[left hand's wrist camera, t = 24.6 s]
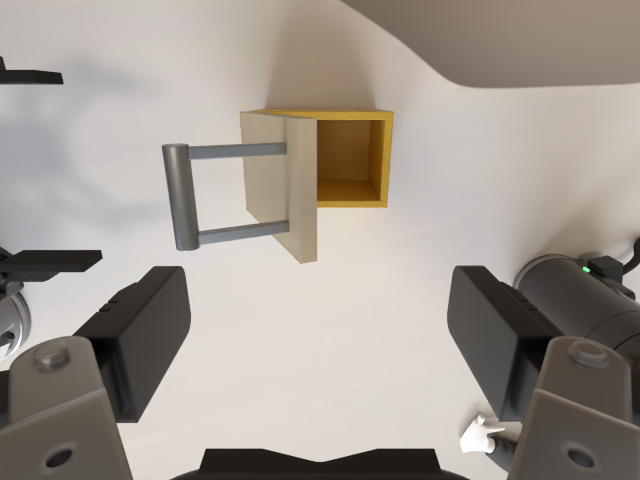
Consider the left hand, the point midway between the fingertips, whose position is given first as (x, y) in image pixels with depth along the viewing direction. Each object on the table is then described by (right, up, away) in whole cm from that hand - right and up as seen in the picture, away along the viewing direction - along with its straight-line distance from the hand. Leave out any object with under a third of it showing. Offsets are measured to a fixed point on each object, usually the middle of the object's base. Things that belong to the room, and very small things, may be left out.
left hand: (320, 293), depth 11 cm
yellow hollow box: (0, +13, +34) cm, 36 cm away
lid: (-3, +7, +18) cm, 19 cm away
